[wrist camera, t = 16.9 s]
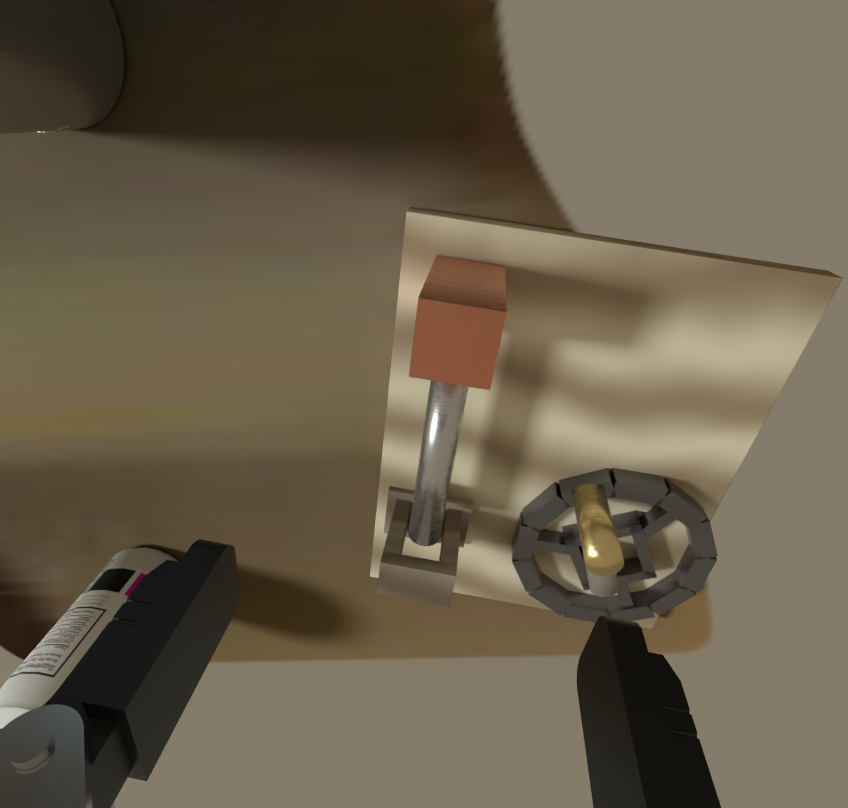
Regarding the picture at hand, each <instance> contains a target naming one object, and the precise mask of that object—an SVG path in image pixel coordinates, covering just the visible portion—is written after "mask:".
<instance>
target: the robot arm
mask: <svg viewBox="0 0 848 808" xmlns="http://www.w3.org/2000/svg"><path fill="white" fill-rule="evenodd" d="M123 78H124V50H123V43H122V36H121V32H120V29H119V26H118V22H117V19H116V16H115V13H114V10H113V8H112V6H111V4H110V2H109V0H0V134H3V133H24V132H58V131H64V130H79V129H83V128H87V127H90V126H93V125H94V124H96V123H97V122H99V121H101V120H102V119H104V118H105V116H106V115H107V114H108V113H109V112H110V111H111V110H112V108H113V107H114V105H115V103H116V101H117V99H118V97H119V95H120V92H121V87H122V83H123ZM238 594H239V588H238V577H237V566H236V555H235V549H234V547H233V546H232V545H227V544H222V543H217V542H211V541H206V540H197V541H195V542H194V543H193V544H192V546H191V547H190V548H189V550H188V551H187V553H186V554H185V556H184V557H183V558H182V560H181V561H180V562H177V561H172V560H166V561H165V562H163V563H162V564H160V565H159V566H158V567H156V568H155V569H154V570H152V571H151V572H149V573H148V574H147V575H145V576H144V577H143V578H142V579H141V581H140V582H139V583H138V585H137V586H136V587H135V589H134V590H133V591H132V593H131V594H130V595H129V597H128V598H127V601H126V603H123V604H122V606H121V607H120V608H119V610H118V611H117V612H116V614H115V615H114V616H113V620H112V621H111V622H110V621H109V623H108V624H107V625H106V627H105V628H104V629H103V631H102V632H101V633H100V635H99V636H98V637H97V639H96V640H95V641H94V643H93V644H92V645H91V646H90V648H89V649H88V650H87V652H86V653H85V654H84V656H83V657H82V658H81V660H80V661H79V662H78V664H77V665H76V666H75V668H74V669H73V670H72V671H71V673H70V674H69V675H68V677H67V678H66V679H65V681H64V682H63V683H62V685H61V686H60V687H59V689H58V690H57V691H56V692H55V693H54V695H53V696H52V697H51V698H50V699H49V700H48V701H47V702H46V703H45V704H44V705H42V706H41V707H38V708H35V709H32V710H30V711H28V712H25V713H24V714H22V715H20V716H18V717H17V718H15V719H14V720H12V721H11V722H9V723H8V724H7V725H6V726H5V727H3V728H2V729H0V808H115V806H114V801H115V799H116V797H117V795H118V793H119V791H120V790H121V788H122V786H123V784H124V782H125V781H126V779H127V777H130V778H135V779H139V780H144V781H147V779H148V778H149V776H150V774H151V772H152V770H153V768H154V766H155V764H156V763H157V761H158V758H159V757H160V755H161V753H162V751H163V749H164V747H165V745H166V743H167V741H168V740H169V738H170V736H171V734H172V732H173V730H174V728H175V726H176V724H177V722H178V720H179V718H180V717H181V715H182V713H183V711H184V709H185V707H186V705H187V703H188V701H189V699H190V698H191V696H192V694H193V692H194V690H195V688H196V686H197V684H198V682H199V680H200V679H201V677H202V675H203V673H204V671H205V669H206V667H207V665H208V663H209V661H210V659H211V658H212V656H213V654H214V652H215V650H216V648H217V646H218V644H219V642H220V640H221V638H222V637H223V635H224V633H225V631H226V629H227V627H228V625H229V623H230V621H231V619H232V617H233V615H234V612H235V609H236V605H237V601H238ZM577 689H578V697H579V704H580V712H581V719H582V726H583V733H584V741H585V748H586V756H587V763H588V770H589V778H590V785H591V792H592V799H593V806H594V808H721V806H720V803H719V800H718V796H717V793H716V790H715V787H714V784H713V781H712V778H711V774H710V771H709V768H708V765H707V762H706V759H705V756H704V753H703V750H702V747H701V743H700V740H699V739H698V738H697V731H696V728H695V724H694V721H693V718H692V715H690V714H689V706H688V703H687V699H686V696H685V693H684V690H683V687H682V684H681V681H680V679H679V678H678V676H677V675H676V674H675V672H674V671H673V669H672V668H671V666H670V665H669V663H668V662H667V661H666V659H665V658H664V656H663V655H660V654H655V653H650V652H648V650H647V646H646V642H645V639H644V635H643V632H642V629H641V627H640V625H639V624H638V623H637V622H632V621H627V620H622V619H616V618H611V617H606V616H600V617H599V618H598V619H597V621H596V623H595V625H594V628H593V630H592V632H591V634H590V636H589V639H588V641H587V643H586V645H585V647H584V650H583V652H582V654H581V656H580V659H579V663H578V669H577Z"/></svg>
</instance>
